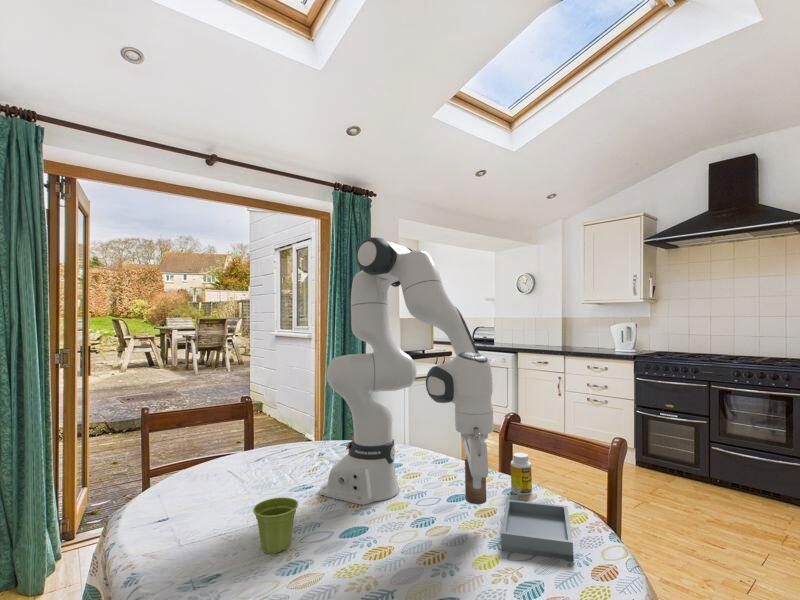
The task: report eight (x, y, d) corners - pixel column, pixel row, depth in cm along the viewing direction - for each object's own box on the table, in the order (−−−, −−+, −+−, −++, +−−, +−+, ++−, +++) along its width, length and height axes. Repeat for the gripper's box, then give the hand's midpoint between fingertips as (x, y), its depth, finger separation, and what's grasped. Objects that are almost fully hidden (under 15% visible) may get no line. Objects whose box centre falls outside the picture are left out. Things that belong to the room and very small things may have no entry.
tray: (501, 550, 89) (501, 533, 89) (507, 513, 105) (506, 499, 105) (573, 560, 85) (572, 542, 85) (567, 521, 101) (567, 506, 101)
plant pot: (262, 535, 97) (262, 497, 98) (303, 535, 97) (302, 496, 97) (246, 558, 88) (246, 516, 88) (291, 558, 88) (291, 515, 88)
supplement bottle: (522, 498, 114) (521, 459, 115) (507, 491, 119) (505, 454, 119) (536, 492, 117) (535, 455, 118) (520, 486, 122) (519, 450, 122)
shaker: (461, 498, 100) (460, 455, 100) (476, 493, 103) (475, 450, 103) (475, 506, 96) (474, 460, 96) (490, 500, 99) (489, 456, 99)
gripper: (494, 435, 89) (495, 502, 89) (482, 412, 110) (483, 466, 109) (464, 435, 90) (465, 501, 89) (457, 412, 110) (458, 465, 110)
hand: (475, 481), depth 100 cm, fingers closed on shaker, 5 cm apart
